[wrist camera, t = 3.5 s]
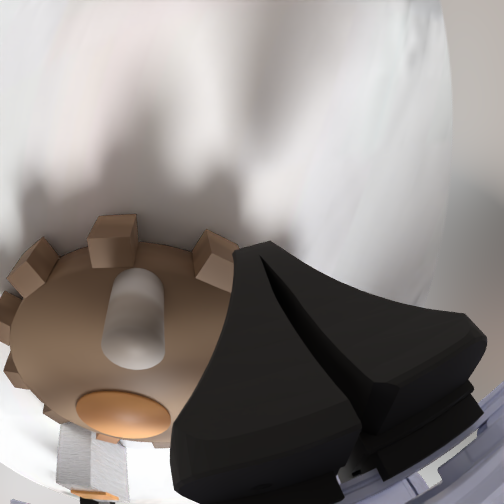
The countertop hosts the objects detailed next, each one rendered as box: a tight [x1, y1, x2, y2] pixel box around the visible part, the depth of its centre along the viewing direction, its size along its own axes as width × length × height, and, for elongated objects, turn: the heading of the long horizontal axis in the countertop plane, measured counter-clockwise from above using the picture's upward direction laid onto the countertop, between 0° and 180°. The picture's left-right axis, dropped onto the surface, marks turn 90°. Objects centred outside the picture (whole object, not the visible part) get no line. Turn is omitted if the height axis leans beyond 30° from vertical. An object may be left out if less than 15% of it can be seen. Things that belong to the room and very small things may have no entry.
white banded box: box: [56, 423, 130, 502], centre depth 17 cm, size 6×4×6 cm, turn 9°
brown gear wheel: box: [0, 214, 239, 448], centre depth 13 cm, size 17×17×5 cm
